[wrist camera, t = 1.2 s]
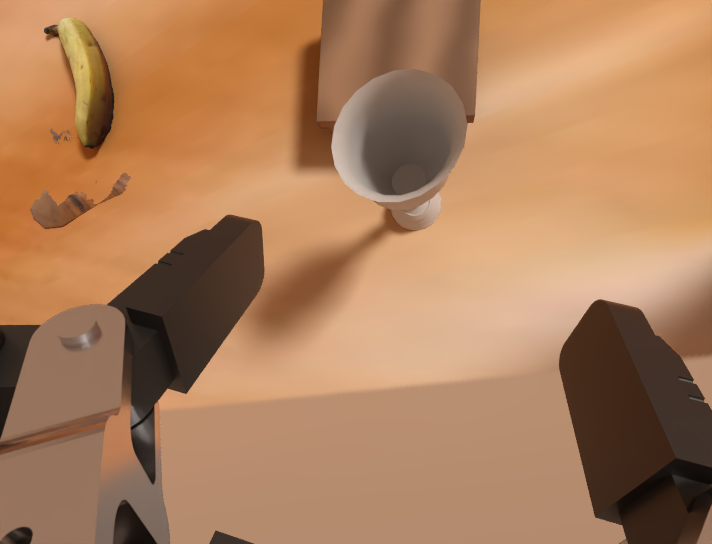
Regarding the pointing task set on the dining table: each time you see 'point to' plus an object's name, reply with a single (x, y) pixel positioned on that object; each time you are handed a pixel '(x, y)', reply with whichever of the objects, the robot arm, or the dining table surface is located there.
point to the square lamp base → (395, 47)
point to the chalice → (401, 143)
